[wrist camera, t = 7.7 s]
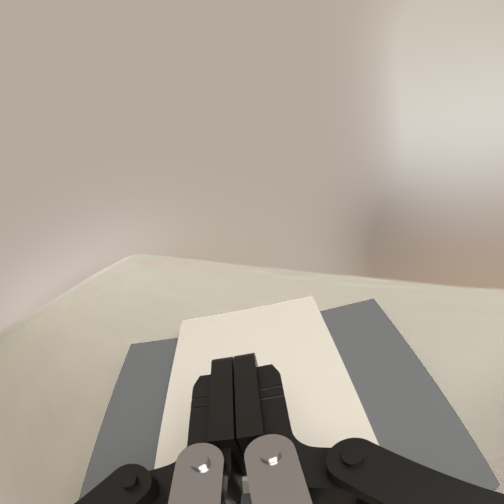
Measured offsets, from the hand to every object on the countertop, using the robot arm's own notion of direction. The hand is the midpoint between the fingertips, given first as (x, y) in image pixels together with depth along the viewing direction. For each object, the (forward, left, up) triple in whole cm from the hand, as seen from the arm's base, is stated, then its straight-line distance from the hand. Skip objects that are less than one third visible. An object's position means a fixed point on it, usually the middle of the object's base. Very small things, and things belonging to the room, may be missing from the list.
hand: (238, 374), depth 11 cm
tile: (0, -2, -5) cm, 6 cm away
